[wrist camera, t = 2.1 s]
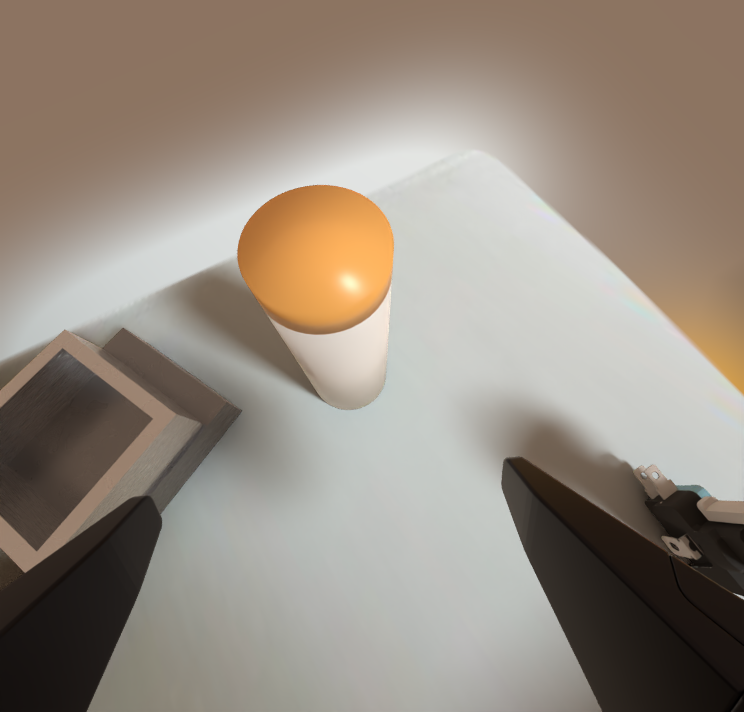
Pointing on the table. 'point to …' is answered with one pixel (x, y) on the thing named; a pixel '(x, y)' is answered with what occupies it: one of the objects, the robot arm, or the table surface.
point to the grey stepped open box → (97, 438)
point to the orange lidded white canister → (325, 286)
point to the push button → (699, 528)
